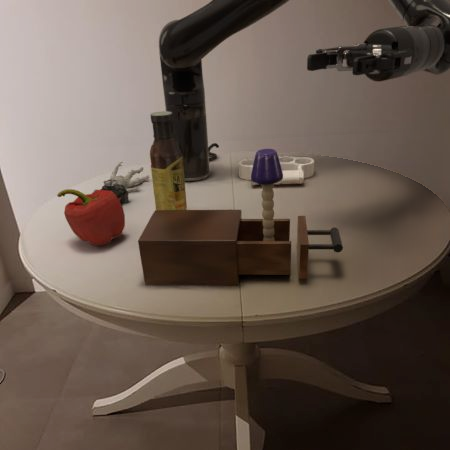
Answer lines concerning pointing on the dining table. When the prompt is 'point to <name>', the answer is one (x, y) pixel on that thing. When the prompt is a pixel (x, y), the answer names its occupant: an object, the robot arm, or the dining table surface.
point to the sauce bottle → (166, 165)
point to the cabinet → (191, 247)
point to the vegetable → (95, 216)
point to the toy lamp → (267, 185)
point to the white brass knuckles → (283, 169)
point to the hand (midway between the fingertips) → (330, 65)
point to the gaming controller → (117, 191)
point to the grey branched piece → (126, 179)
